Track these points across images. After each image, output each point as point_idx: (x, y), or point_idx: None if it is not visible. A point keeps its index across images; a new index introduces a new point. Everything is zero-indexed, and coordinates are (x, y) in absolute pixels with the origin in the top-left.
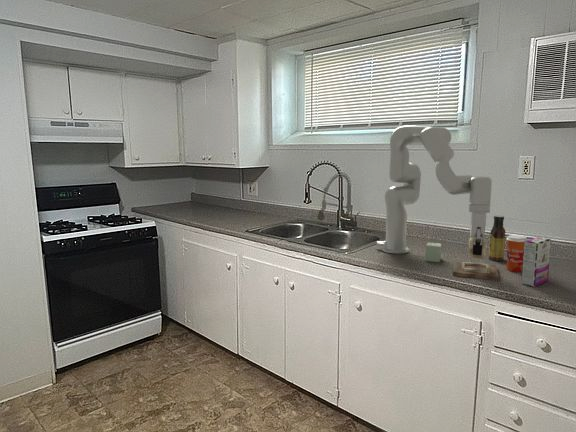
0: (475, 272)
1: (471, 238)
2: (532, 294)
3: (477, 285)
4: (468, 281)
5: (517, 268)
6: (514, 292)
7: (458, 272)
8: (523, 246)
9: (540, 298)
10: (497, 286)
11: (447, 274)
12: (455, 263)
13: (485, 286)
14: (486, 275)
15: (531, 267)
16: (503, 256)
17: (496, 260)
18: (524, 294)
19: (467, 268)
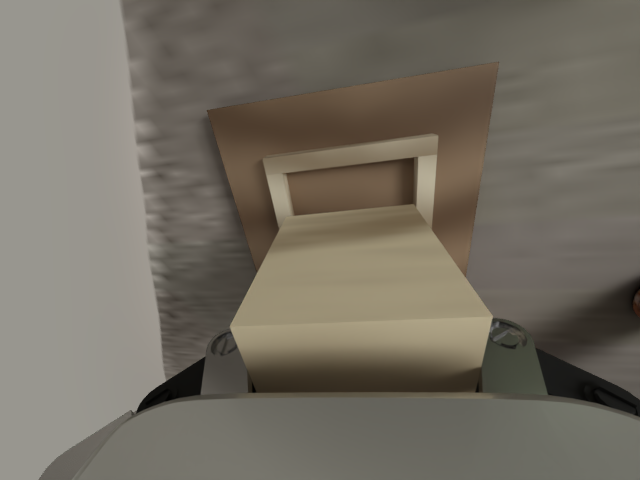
0: (275, 226)
1: (400, 343)
2: (188, 366)
3: (150, 236)
4: (176, 198)
5: None
6: (169, 334)
7: (217, 142)
8: None
9: (169, 376)
10: (193, 296)
11: (222, 67)
12: (438, 82)
13: (161, 262)
14: (257, 271)
15: None
16: None
17: (635, 294)
18: (172, 352)
19: (276, 190)
